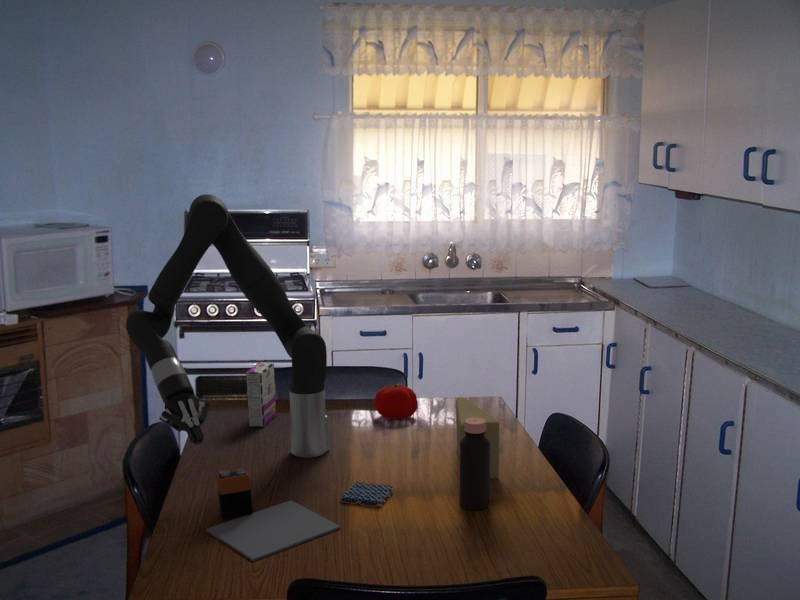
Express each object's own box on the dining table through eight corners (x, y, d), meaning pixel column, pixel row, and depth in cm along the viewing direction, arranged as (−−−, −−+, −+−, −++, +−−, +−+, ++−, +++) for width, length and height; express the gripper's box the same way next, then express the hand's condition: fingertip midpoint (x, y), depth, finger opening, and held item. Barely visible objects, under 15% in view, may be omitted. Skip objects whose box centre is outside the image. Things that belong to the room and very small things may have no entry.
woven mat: (396, 492, 214) (396, 484, 214) (380, 510, 204) (380, 502, 204) (355, 487, 217) (355, 479, 217) (338, 505, 207) (337, 496, 207)
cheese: (441, 450, 240) (441, 396, 237) (477, 447, 242) (477, 393, 239) (460, 482, 219) (461, 423, 216) (499, 479, 220) (500, 420, 217)
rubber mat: (291, 502, 208) (290, 500, 208) (340, 528, 194) (340, 526, 194) (206, 531, 194) (205, 528, 194) (252, 561, 180) (252, 559, 180)
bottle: (469, 513, 201) (470, 427, 197) (453, 502, 207) (454, 418, 203) (495, 507, 204) (496, 422, 200) (479, 496, 210) (479, 414, 206)
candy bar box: (261, 414, 271) (258, 361, 268) (277, 415, 270) (275, 362, 266) (247, 426, 260) (245, 371, 257) (264, 427, 259) (261, 372, 256)
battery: (219, 513, 202) (215, 470, 201) (250, 508, 204) (246, 465, 203) (222, 519, 198) (218, 476, 197) (253, 514, 200) (249, 470, 199)
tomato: (417, 423, 262) (417, 389, 260) (373, 423, 262) (373, 389, 260) (417, 411, 273) (417, 378, 271) (375, 411, 273) (374, 378, 271)
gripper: (150, 377, 210) (178, 441, 203) (201, 367, 218) (229, 428, 212) (141, 394, 215) (168, 457, 208) (191, 384, 223) (219, 444, 216)
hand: (199, 442), depth 210 cm, fingers closed
